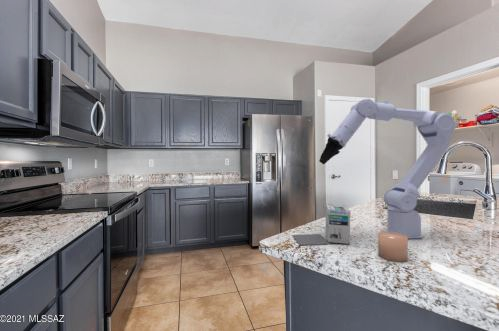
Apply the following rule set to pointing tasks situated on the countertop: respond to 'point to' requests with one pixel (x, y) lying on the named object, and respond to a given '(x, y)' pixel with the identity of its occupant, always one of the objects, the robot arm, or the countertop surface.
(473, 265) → the countertop surface
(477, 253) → the countertop surface
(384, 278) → the countertop surface
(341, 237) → the light bulb box
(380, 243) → the tan rounded cylinder
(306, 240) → the flat gray square
